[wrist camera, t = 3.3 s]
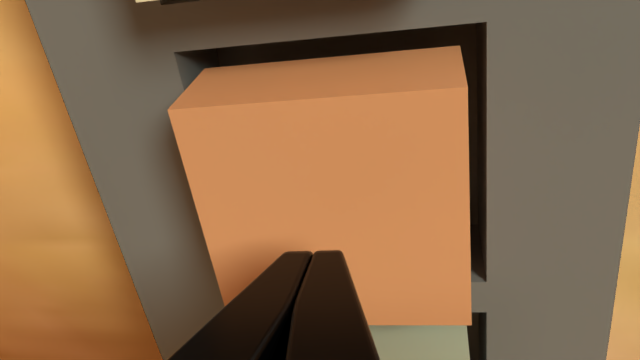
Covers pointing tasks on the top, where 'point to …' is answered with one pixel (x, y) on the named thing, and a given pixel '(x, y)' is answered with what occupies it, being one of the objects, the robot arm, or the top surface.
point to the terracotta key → (338, 174)
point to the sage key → (421, 342)
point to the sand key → (143, 0)
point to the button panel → (484, 142)
